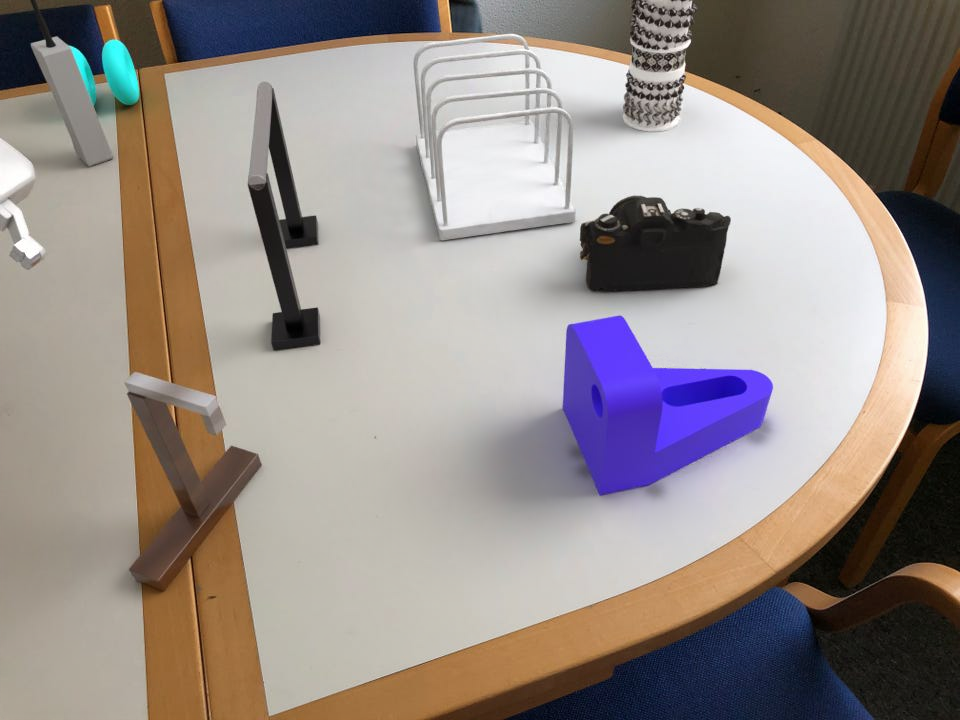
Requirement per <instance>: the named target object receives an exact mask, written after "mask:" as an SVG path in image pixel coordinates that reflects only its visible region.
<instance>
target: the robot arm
mask: <svg viewBox="0 0 960 720" xmlns="http://www.w3.org/2000/svg"><path fill="white" fill-rule="evenodd" d="M36 181H37V177H36V171H35V166H34V164H33V163H32V162H31V160H29V158H27V157H26V156H25V155H23V154H22V153H21V152H20V151H19V150H17V149H16V148H14V146H12V145H11V144H9V143H8V142H7V141H5V140H4V139H3V138H1V137H0V232H4V231H5V230H8V232H9V235H10V238H11V240H12V243H13V244H14V245H12V248H11V251H10V252H9V254H8V256H9V257H10V258H11V259H13V260H14V262H16V263H20V266H21V267H22V268H23V269H25V270H27V271H28V270H31V269H32V268H33V267H35V266H37V265H38V264H40V262H42V261H43V260H44V259H45V257H46V255H47V251H46V249H45V248H44V246H42V245H41V244H40V243H39V242H37V240H35V239H34V238H33V237H32V236H30V232H29V228H28V226H27V223H26V220H25V217H24V215H23V212H22V209H21V208H19V206H17V205H18V204H19V203H21V202H23V201H24V200H25V199H27V198H28V197H29V196H30V194H31V192H32V190H33V187H34V186H35V183H36Z"/></svg>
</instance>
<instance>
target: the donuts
mask: <svg viewBox="0 0 960 720" xmlns="http://www.w3.org/2000/svg"><path fill="white" fill-rule="evenodd" d="M68 46H69V47H70V48H71V50H72V52H73V55H74V57H75V60H76V63H77V65H78V68H79V70H80V73H81V75H82V78H83V81H84V83H85V86H86V88H87V91H88V93H89V96H90V99H91V101H92V104H93V106H94V107H95V105H96V103H97V97H98V96H97V93H98V92H97V87H96V82H95V78H94V74H93V72H92V69H91V66H90V64H89V62H88V60H87V58H86V56H85V55H84V54H83V53H82V51H80V50H79V49H78V48H76V47H75V46H72V45H68ZM101 59H102V67H103V72H104V75H105V79H106V82H107V84H108V86H109V89H110V91H111V93H112V94H113V96H114V98H116V99H117V101H118V102H120V103H122V104H124V105H126V106H133V105H135V104H136V103H137V102H138V101H139V99H140V87H139V81H138V77H137V72H136V69H135V65H134V63H133V59H132V57H131V55H130V52H129V50H128V48H127V47H126V45H125V44H124V43H123V42H121V40H118V39H110V40H108V41H106V42H105V44H104V45H103V47H102V52H101Z"/></svg>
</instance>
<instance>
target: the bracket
mask: <svg viewBox="0 0 960 720" xmlns="http://www.w3.org/2000/svg"><path fill="white" fill-rule="evenodd" d="M564 351H565V353H564V371H563V372H564V373H563V389H562V390H563V394H562V411H563V412H564V415H565V417H566V419H567V421H568V424H569V426H570V429H571V431H572V433H573V436H574V439H575V441H576V443H577V445H578V447H579V451H580V453H581V455H582V457H583V460H584V461H585V464H586V466H587V469H588V472H589V473H590V476H591V478H592V481H593V483H594V486H595V488H596V491H597V492H598V495H599V496H603V495H608V494H613V493H618V492H622V491H627V490H632V489H636V488H642V487H646V486H650V485H652V484H654V483H656V482H658V481H660V480H662V479H664V478H665V477H667V476H670V475H672V474H673V473H675V472H676V471H679V470H680V469H683V468H684V467H686V466H689V465H690V464H692V463H694V462H696V461H698V460H700V459H702V458H704V457H706V456H708V455H709V454H711V453H713V452H716V451H717V450H719V449H721V448H723V447H726V446H727V445H729V444H730V443H732V442H735V441H736V440H738V439H740V438H742V437H744V436H746V435H748V434H750V433H751V432H754V431H755V430H758V429H759V428H760V427H761V426H762V425H763V423H764V420H765V417H766V413H767V411H768V407H769V403H770V400H771V397H772V393H773V390H774V385H773V381H772V380H771V378H769V376H768V375H766V374H764V373H762V372H761V371H758V370H754V369H736V368H735V369H732V368H729V369H728V368H727V369H726V368H686V367H685V368H682V367H681V368H679V367H677V368H676V367H673V368H672V367H653V366H652V364H651V361H649V359H648V356H647V355H646V353H645V352H644V350H643V348H642V346H641V345H640V343H639V341H638V339H637V338H636V335H635V334H634V332H633V331H632V329H631V327H630V325H629V324H628V322H627V320H626V319H625V317H624V316H623V315H614V316H608V317H602V318H597V319H591V320H586V321H581V322H580V321H579V322H574V323H570V324H568V325H567V326H566V332H565V349H564Z"/></svg>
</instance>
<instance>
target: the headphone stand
mask: <svg viewBox="0 0 960 720" xmlns="http://www.w3.org/2000/svg"><path fill="white" fill-rule="evenodd" d="M123 383H124V385H125V387H126V389H127V393H126V395H127V398H128V399H129V402H130V404H131V405H132V407H133V410H134V412H135V414H136V416H137V419H138V420H139V422H140V424H141V427H142V429H143V430H144V432H145V435H146V437H147V439H148V441H149V443H150V445H151V448H152V449H153V451H154V453H155V455H156V457H157V459H158V462H159V464H160V465H161V468H162V470H163V472H164V475H165V476H166V478H167V480H168V482H169V485H170V486H171V488H172V489H171V490H172V491H173V493H174V495H175V498H176V499H177V501H178V503H179V505H180V507H179V508H178V509H177V510H176V512H174V513H173V515H172V516H171V518H169V520H168V521H167V522H166V524H165V525H164V526H163V527H162V529H161V530H159V532H158V533H156V535H155V537H154V538H153V539H152V541H151V542H150V543H149V544H148V545H147V547H145V549H144V550H143V551H142V552H141V554H140V555H139V556H138V558H137V559H136V560H135V561H134V562H133V563H132V564H131V565H130V567H129V568H128V571H129V573H130V575H131V576H132V577H133V580H135V581H137V582H140V583H142V584H144V585H147V586H149V587H151V586H152V587H151V588H154V589H156V590H159V591H162V592H165V591H166V590H167V588H168V587H169V586H170V585H171V583H172V582H173V581H174V579H175V578H176V577H177V576H178V574H179V573H180V572H179V570H180V571H181V570H182V569H183V568H184V567H185V565H186V564H187V563H188V562H189V560H190V559H191V557H192V556H193V555H194V554H195V552H196V551H197V550H198V549H199V547H200V546H201V545H202V543H203V542H204V540H205V539H206V538H207V537H208V536H209V534H210V533H211V531H212V530H213V529H214V528H215V527H216V525H217V524H218V522H219V521H220V520H221V519H222V517H223V516H224V515H225V514H226V512H228V510H229V508H230V507H231V506H232V504H233V503H234V502H235V500H236V499H237V498H238V496H239V495H240V494H241V493H242V491H243V490H244V489H245V487H247V485H248V483H249V482H250V481H251V480H252V478H254V476H255V475H256V474H257V472H258V471H259V470H260V468H261V467H262V465H263V464H262V461H261V458H260V456H259V454H258V453H256V452H252V451H250V450H247V449H244V448H241V447H237V446H235V445H230V446H229V447H228V448H227V449H226V451H225V452H224V453H223V455H221V457H220V458H219V460H217V462H216V463H215V464H214V466H213V467H212V468H211V469H210V470H209V471H208V473H207V474H206V475H205V477H204V478H203V479H202V480H201V479H200V477H199V475H198V472H197V470H196V468H195V466H194V463H193V461H192V459H191V457H190V454H189V452H188V449H187V447H186V445H185V443H184V440H183V438H182V435H181V434H180V431H179V429H178V427H177V424H176V422H175V420H174V418H173V415H172V413H171V410H170V408H169V407H168V405H170V406H174V407H176V408H180V409H183V410H187V411H189V412H192V413H195V414H199V415H200V417H201V419H202V421H203V422H202V423H203V424H204V427H205V430H206V432H207V434H210V435H213V436H216V437H218V435H219V434H220V432H221V431H222V430H223V429H224V428H225V427H226V426H227V422H226V419H225V417H224V415H223V412H222V409H221V406H220V404H219V401H218V398H217V396H216V395H214V394H210V393H206V392H204V391H200V390H197V389H193V388H190V387H187V386H183V385H180V384H177V383H173V382H170V381H167V380H164V379H162V378H161V379H160V378H157V377H153V376H151V375H148V374H144V373H141V372H137V371H134V372H132V374H131V375H130V376H128V378H126V379H125V380H124V381H123ZM185 563H186V564H185ZM182 567H183V568H182ZM181 568H182V569H181ZM178 572H179V573H178ZM177 573H178V574H177ZM175 576H176V577H175ZM174 577H175V578H174ZM172 580H173V581H172ZM171 581H172V582H171ZM168 585H169V586H168ZM166 587H167V588H166ZM165 589H166V590H165Z"/></svg>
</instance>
